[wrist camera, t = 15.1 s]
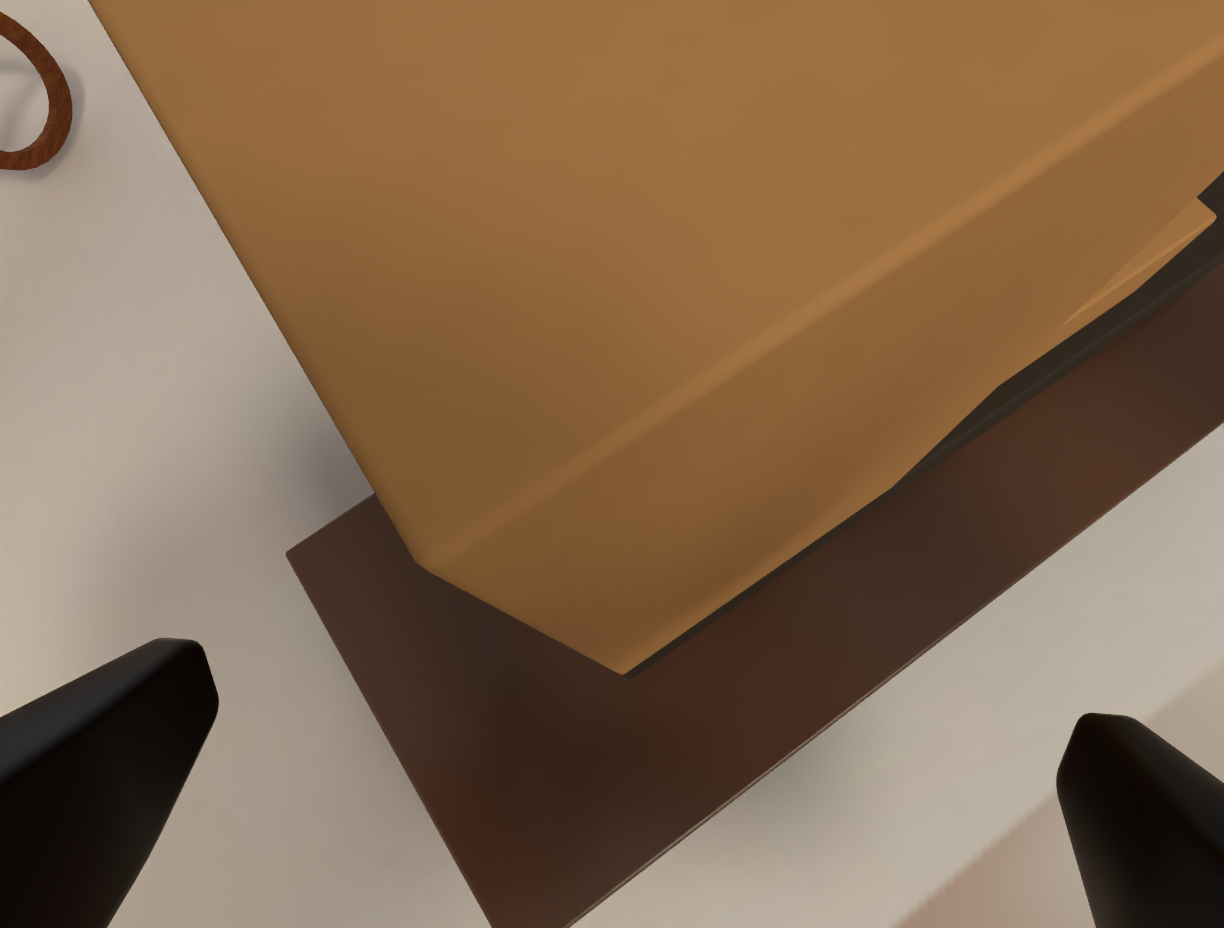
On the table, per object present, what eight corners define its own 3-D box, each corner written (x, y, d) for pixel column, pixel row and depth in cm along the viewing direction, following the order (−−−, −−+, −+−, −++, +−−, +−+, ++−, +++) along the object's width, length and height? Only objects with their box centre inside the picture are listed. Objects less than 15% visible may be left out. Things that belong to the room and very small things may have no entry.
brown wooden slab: (546, 914, 18) (513, 971, 14) (352, 579, 21) (282, 552, 17) (1203, 410, 21) (1324, 345, 17) (950, 173, 24) (1004, 72, 20)
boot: (629, 681, 16) (417, 576, 2) (486, 459, 18) (-91, -303, 4) (1192, 286, 18) (2842, -1015, 4) (1011, 120, 19) (1779, -1172, 6)
